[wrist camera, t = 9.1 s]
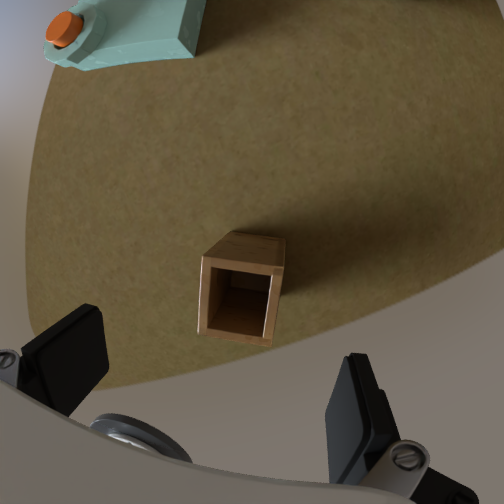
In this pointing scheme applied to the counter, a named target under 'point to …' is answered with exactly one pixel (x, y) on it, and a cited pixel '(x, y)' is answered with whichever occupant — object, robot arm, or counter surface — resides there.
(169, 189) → the counter surface
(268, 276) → the open wooden box
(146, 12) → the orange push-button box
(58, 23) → the button
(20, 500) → the robot arm
